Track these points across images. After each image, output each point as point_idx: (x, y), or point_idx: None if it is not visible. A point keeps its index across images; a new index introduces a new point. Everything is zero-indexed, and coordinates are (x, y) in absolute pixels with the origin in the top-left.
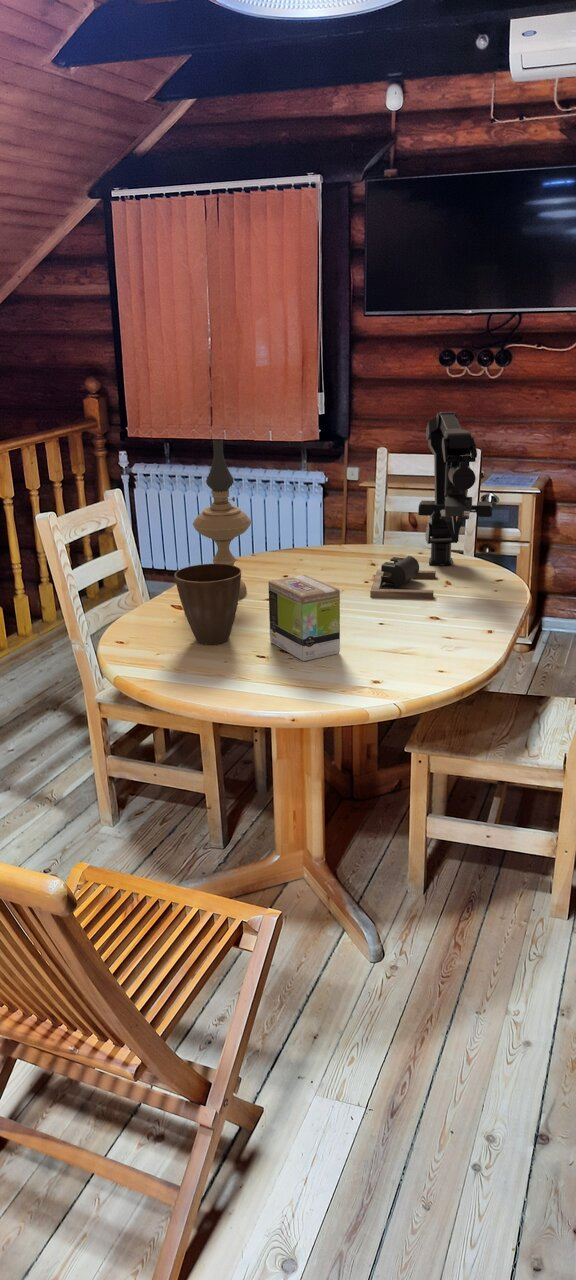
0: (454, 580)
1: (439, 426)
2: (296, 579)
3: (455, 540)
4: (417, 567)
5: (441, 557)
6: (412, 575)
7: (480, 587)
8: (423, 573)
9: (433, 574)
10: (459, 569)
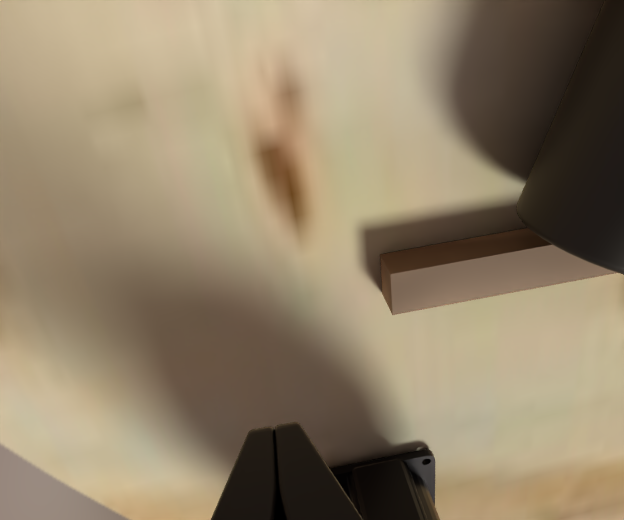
0: (252, 250)
1: None
2: None
3: (250, 435)
4: (552, 194)
5: (381, 495)
6: (575, 83)
7: (16, 135)
8: (467, 257)
9: (400, 266)
10: None
